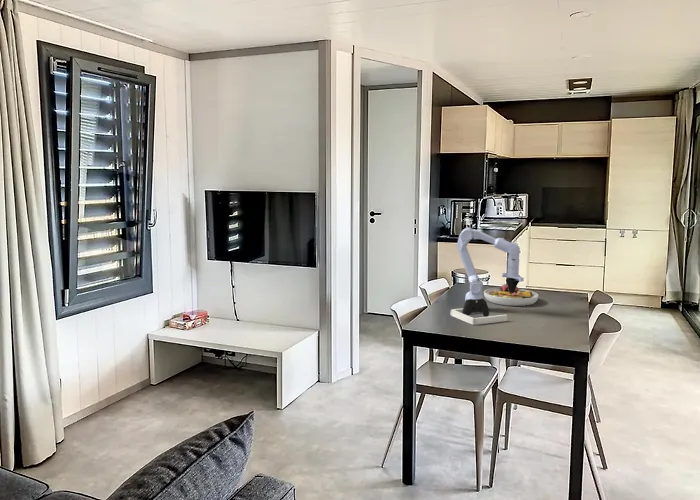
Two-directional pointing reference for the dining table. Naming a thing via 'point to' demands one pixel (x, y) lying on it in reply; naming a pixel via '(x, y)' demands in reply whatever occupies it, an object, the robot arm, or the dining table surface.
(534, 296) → the bowl
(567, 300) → the dining table surface
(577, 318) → the dining table surface
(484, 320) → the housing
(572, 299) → the dining table surface
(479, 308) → the gaming controller
